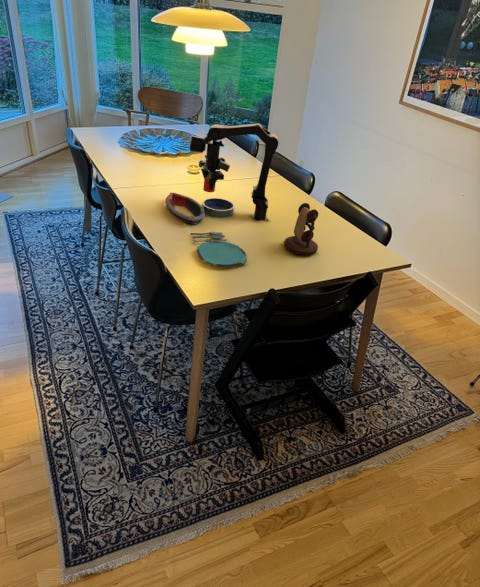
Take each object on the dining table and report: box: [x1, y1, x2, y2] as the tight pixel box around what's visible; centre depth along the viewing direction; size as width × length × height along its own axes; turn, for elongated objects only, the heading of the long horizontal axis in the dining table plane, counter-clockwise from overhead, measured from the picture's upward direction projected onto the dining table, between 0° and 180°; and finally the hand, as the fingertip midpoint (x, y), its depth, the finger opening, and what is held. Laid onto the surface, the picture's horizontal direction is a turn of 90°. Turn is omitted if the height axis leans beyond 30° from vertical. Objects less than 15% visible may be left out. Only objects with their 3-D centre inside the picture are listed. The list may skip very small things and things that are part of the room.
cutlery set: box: [190, 231, 248, 267], centre depth 183 cm, size 20×30×2 cm, turn 19°
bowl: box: [201, 197, 235, 219], centre depth 216 cm, size 15×15×4 cm
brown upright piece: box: [283, 202, 319, 256], centre depth 190 cm, size 15×15×20 cm
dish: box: [164, 191, 206, 225], centre depth 210 cm, size 16×31×5 cm, turn 26°
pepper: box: [202, 177, 217, 193], centre depth 208 cm, size 5×5×7 cm
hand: (209, 187), depth 210 cm, fingers closed on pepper, 5 cm apart
